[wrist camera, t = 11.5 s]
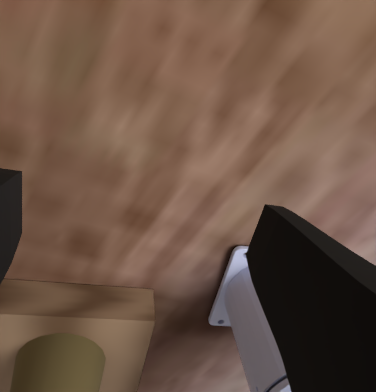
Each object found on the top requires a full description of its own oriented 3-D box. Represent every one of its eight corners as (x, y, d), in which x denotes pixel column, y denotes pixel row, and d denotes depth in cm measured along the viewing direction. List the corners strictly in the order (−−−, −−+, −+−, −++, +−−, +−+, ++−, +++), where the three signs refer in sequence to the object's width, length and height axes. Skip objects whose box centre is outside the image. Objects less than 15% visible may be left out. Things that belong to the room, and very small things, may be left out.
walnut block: (153, 289, 26) (155, 321, 23) (131, 378, 31) (131, 412, 28) (-6, 278, 23) (-24, 312, 21) (-1, 377, 28) (-15, 414, 26)
